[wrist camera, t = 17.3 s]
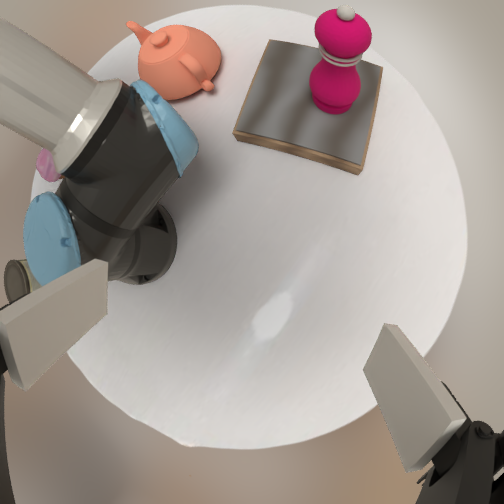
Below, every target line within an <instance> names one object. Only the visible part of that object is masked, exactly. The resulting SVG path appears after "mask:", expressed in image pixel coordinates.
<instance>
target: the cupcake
mask: <svg viewBox="0 0 504 504" xmlns="http://www.w3.org/2000/svg"><path fill="white" fill-rule="evenodd" d="M36 168H37V170H38V171H39V173H40V175H41V177H42V178H44V179H45V180H47V181H49V182H55V181H57V180H58V179H64V178H65V176H63V175H61V174H59V173H57V172H56V170H55V166H54V162H53V158H52V154H51V153H50V151H48V150H46V149H44V148H43V149H42V150H41V152H40V153H39V155H38V158H37V162H36Z"/></svg>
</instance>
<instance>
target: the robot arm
mask: <svg viewBox="0 0 504 504" xmlns="http://www.w3.org/2000/svg"><path fill="white" fill-rule="evenodd" d="M0 124H2V125H3V126H5V127H7V128H9V129H11V130H12V131H14V132H16V133H18V134H19V135H21V136H23V137H25V138H27V139H28V140H30V141H32V142H34V143H35V144H37V145H39V146H41V147H43V148H44V149H46V150H48V151H50V153H51V154H52V158H53V162H54V166H55V170H56V172H57V173H59V174H61V175H63V176H65V178H64V179H63V181H62V183H61V184H60V186H59V188H58V190H57V191H56V193H53V192H45V193H42V194H41V195H38V196H36V197H35V198H34V199H33V201H32V202H31V204H30V205H29V208H28V210H27V213H26V217H25V221H24V231H23V239H24V249H25V254H26V259H27V262H28V265H29V267H30V270H31V272H32V274H33V275H34V277H35V279H36V280H37V281H38V282H39V284H40V285H41V286H42V287H40V288H39V289H37V290H35V291H33V292H31V293H27V294H24V295H22V296H21V297H19V298H17V299H16V300H14V301H12V302H10V304H7V305H5V306H4V307H2V308H0V504H15V500H14V495H13V491H12V486H11V481H10V475H9V469H8V462H7V453H6V442H5V426H4V391H5V390H4V389H5V380H4V376H3V373H4V372H5V371H7V370H8V372H9V374H10V377H11V380H12V382H13V383H14V384H16V385H17V386H18V387H20V388H21V389H23V390H24V391H27V390H28V389H29V388H30V387H31V386H32V385H33V384H34V383H35V382H36V381H37V380H38V379H39V378H40V377H41V376H42V374H44V373H45V372H46V371H47V370H48V369H49V368H50V367H51V366H52V365H53V364H54V363H55V362H56V361H57V360H58V359H59V358H60V357H61V356H62V355H63V354H64V353H65V352H66V351H68V350H69V349H70V348H71V347H72V346H73V345H74V344H75V343H76V342H77V341H78V340H79V339H80V338H81V337H82V336H84V335H85V334H86V333H87V332H88V331H89V330H90V329H91V328H92V327H93V326H94V325H96V324H97V323H98V322H99V321H100V320H101V319H102V318H103V317H104V316H106V315H107V282H108V281H112V280H118V281H122V282H125V283H128V284H133V285H141V284H146V283H149V282H153V281H155V280H157V279H158V278H160V277H161V276H162V275H163V274H165V272H166V271H167V270H168V269H169V267H170V265H171V264H172V261H173V259H174V256H175V252H176V245H177V236H176V230H175V226H174V223H173V220H172V218H171V216H170V215H169V213H168V212H167V211H166V209H165V208H164V207H163V206H161V205H160V204H159V203H158V201H159V200H160V199H161V198H162V196H163V195H164V194H165V193H166V191H167V190H168V189H169V188H170V187H171V185H172V184H173V183H174V182H175V181H176V179H177V178H181V176H182V175H183V171H184V170H185V169H186V167H187V166H188V165H189V164H190V162H191V161H192V160H193V159H194V158H195V156H196V155H197V153H198V148H199V144H198V140H197V138H196V136H195V134H194V133H193V131H192V130H191V129H190V127H189V126H188V125H187V124H186V122H185V121H184V120H183V119H182V118H181V116H180V115H179V114H178V113H177V112H176V111H175V110H174V108H173V107H172V106H171V105H170V104H169V103H168V102H167V101H166V100H164V99H162V96H160V95H159V94H158V93H157V91H156V90H155V89H154V88H153V87H152V86H150V85H149V84H148V83H147V82H145V81H143V80H137V81H136V82H133V83H132V84H131V85H130V87H129V86H128V85H127V84H126V83H124V82H123V81H122V80H120V79H119V78H117V79H111V80H106V81H97V80H95V79H94V78H93V77H91V76H90V75H88V74H87V73H86V72H84V71H83V70H81V69H80V68H78V67H77V66H75V65H74V64H73V63H71V62H70V61H68V60H67V59H65V58H64V57H62V56H61V55H59V54H58V53H56V52H55V51H53V50H52V49H51V48H49V47H47V46H46V45H44V44H43V43H41V42H40V41H38V40H37V39H35V38H34V37H32V36H31V35H28V34H27V33H26V32H24V31H23V30H21V29H19V28H18V27H16V26H15V25H13V24H11V23H10V22H8V21H6V20H5V19H3V18H1V17H0ZM363 371H364V373H365V376H366V378H367V380H368V382H369V384H370V387H371V389H372V391H373V394H374V396H375V398H376V400H377V403H378V405H379V407H380V410H381V412H382V414H383V417H384V419H385V421H386V424H387V426H388V429H389V431H390V434H391V436H392V439H393V441H394V443H395V446H396V449H397V451H398V454H399V456H400V459H401V461H402V464H403V466H404V469H405V472H406V473H408V472H412V471H417V470H421V469H423V467H424V466H426V465H427V464H428V463H429V462H430V460H432V462H433V464H434V466H433V467H432V468H431V469H430V470H429V471H428V472H426V473H425V474H424V475H423V476H422V477H421V478H420V479H419V480H418V482H417V484H419V483H420V482H421V481H422V480H424V479H425V482H424V483H423V484H422V486H423V487H422V490H421V492H420V495H419V497H418V499H417V502H416V504H504V473H503V474H502V475H501V476H500V477H499V478H498V479H497V480H495V481H494V479H493V476H494V475H495V474H496V473H497V472H498V471H499V470H500V469H501V468H502V467H503V466H504V430H503V431H502V433H501V434H499V433H498V434H497V433H494V431H493V430H492V428H491V427H490V426H489V425H488V424H486V423H484V422H482V421H474V422H472V421H471V420H470V418H469V417H468V415H467V414H466V413H465V411H464V409H463V408H462V407H461V405H460V404H459V402H457V401H456V398H455V397H454V395H452V393H451V391H450V390H449V389H448V387H447V386H446V385H445V384H444V383H443V382H442V381H440V380H439V378H438V377H437V376H436V374H435V373H434V372H433V370H432V369H431V368H430V366H429V365H428V364H427V362H426V361H425V360H424V358H423V357H422V356H421V355H420V353H419V352H418V351H417V349H416V348H415V347H414V346H413V344H412V343H411V342H410V341H409V339H408V338H407V337H406V336H405V334H404V333H403V332H402V331H401V330H400V328H399V327H398V326H397V325H392V324H386V323H384V325H383V327H382V330H381V332H380V334H379V337H378V339H377V341H376V343H375V345H374V348H373V350H372V352H371V354H370V356H369V358H368V360H367V362H366V364H365V366H364V368H363Z"/></svg>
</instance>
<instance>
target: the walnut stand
mask: <svg viewBox="0 0 504 504" xmlns="http://www.w3.org/2000/svg"><path fill="white" fill-rule="evenodd" d="M321 59H322V56H321V54H320V52H319V48H315V47H310V46H306V45H300V44H295V43H290V42H284V41H277V40H270V39H269V42H268V44H267V46H266V49H265V51H264V53H263V56H262V58H261V60H260V63H259V65H258V68H257V70H256V73H255V75H254V78H253V80H252V83H251V85H250V88H249V90H248V93H247V95H246V98H245V101H244V103H243V106H242V108H241V111H240V114H239V116H238V119H237V122H236V125H235V127H234V130H233V135H234V136H235V138H236V139H237V141H241V142H246V143H250V144H254V145H258V146H262V147H266V148H270V149H274V150H278V151H282V152H285V153H289V154H293V155H296V156H300V157H303V158H306V159H310V160H313V161H316V162H320V163H323V164H326V165H329V166H332V167H335V168H338V169H341V170H344V171H347V172H350V173H353V174H356V175H359V174H360V172H361V171H362V170H363V166H364V162H365V158H366V154H367V149H368V145H369V141H370V136H371V131H372V127H373V122H374V117H375V112H376V107H377V101H378V96H379V90H380V84H381V78H382V71H383V67H381V66H378V65H375V64H372V63H369V62H366V61H363V60H360V61H359V62H358V63H357V64H356V70H357V72H358V74H359V76H360V81H361V89H360V93H359V96H358V97H357V99H356V100H355V101H354V102H353V103H352V106H351V107H350V109H349V110H347V111H346V112H344V113H342V114H329V113H326V112H324V111H322V110H320V109H319V108H318V107H317V106H316V105H315V103H314V101H313V98H312V91H311V89H310V85H309V78H310V74H311V71H312V70H313V68H314V66H315V65H316V64H318V63H319V62H320V61H321Z"/></svg>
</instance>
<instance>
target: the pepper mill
mask: <svg viewBox="0 0 504 504" xmlns="http://www.w3.org/2000/svg"><path fill="white" fill-rule="evenodd" d="M315 36H316V38H317V40H318V42H319V52H320V54H321V56H322V59H321V61H320V62H319V63H318V64H316V65H315V66H314V68H313V70H312V71H311V74H310V78H309V85H310V89H311V91H312V98H313V101H314V103H315V105H316V106H317V107H318V108H319V109H320V110H322V111H324V112H326V113H329V114H342V113H344V112H346V111H347V110H349V109H350V107H351V106H352V103H353V102H354V101H355V100H356V99H357V97H358V96H359V93H360V89H361V81H360V76H359V74H358V72H357V70H356V64H357V63H358V62H359V61H360V60H361V58H362V54H363V52H365V51H366V50H367V49H368V47H369V46H370V44H371V38H372V37H371V36H372V33H371V29H370V27H369V25H368V23H367V22H366V21H365V20H364V19H363V18H362V17H361V16H360V15H358V14H356V13H355V11H354V10H353V8H351V7H350V6H347V5H342V6H340V7H338V9H332V10H329V11H326V12H324V13H323V14H321V15H320V16H319V18H318V19H317V21H316V23H315Z"/></svg>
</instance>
